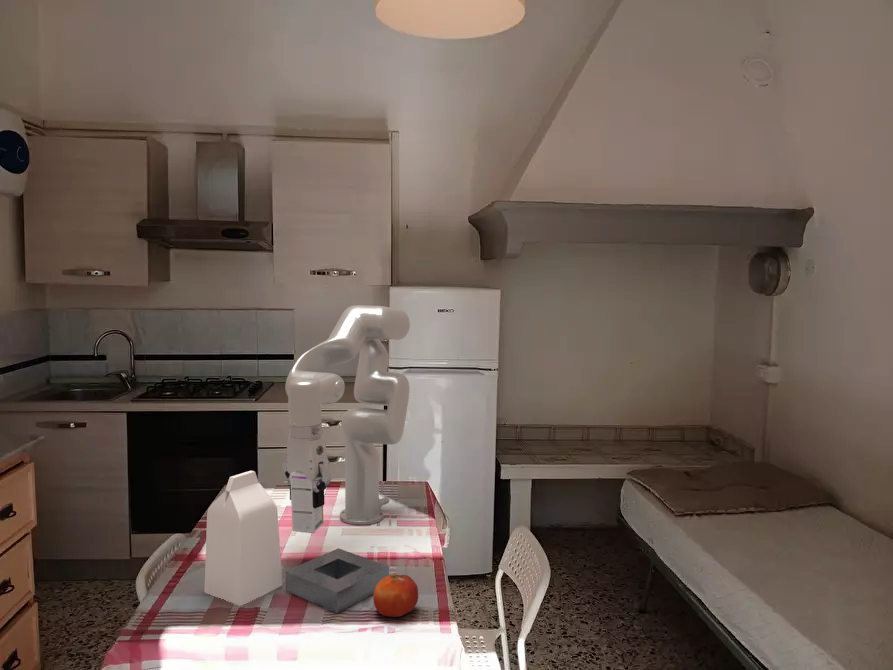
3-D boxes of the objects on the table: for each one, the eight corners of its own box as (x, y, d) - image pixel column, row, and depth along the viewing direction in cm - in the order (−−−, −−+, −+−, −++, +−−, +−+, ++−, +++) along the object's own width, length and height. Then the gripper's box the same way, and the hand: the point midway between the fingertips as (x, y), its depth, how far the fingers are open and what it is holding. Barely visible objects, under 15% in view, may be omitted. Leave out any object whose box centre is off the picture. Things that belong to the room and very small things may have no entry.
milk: (240, 607, 144) (239, 486, 142) (204, 592, 150) (202, 476, 148) (282, 585, 154) (281, 472, 152) (247, 572, 161) (245, 463, 158)
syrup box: (314, 533, 162) (313, 474, 160) (291, 531, 163) (289, 472, 161) (323, 524, 168) (322, 466, 166) (301, 521, 169) (299, 464, 167)
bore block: (338, 566, 164) (338, 548, 164) (388, 585, 155) (388, 566, 154) (285, 590, 152) (285, 571, 151) (337, 613, 142) (337, 592, 142)
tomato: (369, 622, 139) (370, 584, 138) (376, 600, 148) (376, 564, 147) (415, 624, 138) (416, 586, 138) (419, 602, 148) (420, 566, 147)
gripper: (343, 433, 160) (344, 506, 163) (293, 421, 171) (294, 490, 173) (319, 440, 154) (320, 516, 157) (268, 427, 165) (270, 499, 167)
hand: (307, 502), depth 165 cm, fingers closed on syrup box, 7 cm apart
